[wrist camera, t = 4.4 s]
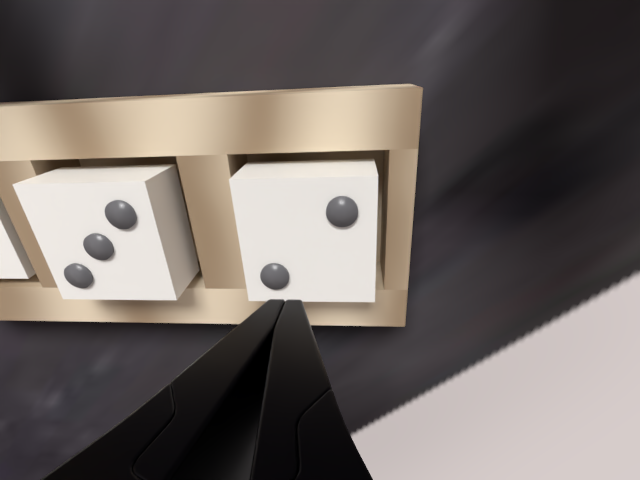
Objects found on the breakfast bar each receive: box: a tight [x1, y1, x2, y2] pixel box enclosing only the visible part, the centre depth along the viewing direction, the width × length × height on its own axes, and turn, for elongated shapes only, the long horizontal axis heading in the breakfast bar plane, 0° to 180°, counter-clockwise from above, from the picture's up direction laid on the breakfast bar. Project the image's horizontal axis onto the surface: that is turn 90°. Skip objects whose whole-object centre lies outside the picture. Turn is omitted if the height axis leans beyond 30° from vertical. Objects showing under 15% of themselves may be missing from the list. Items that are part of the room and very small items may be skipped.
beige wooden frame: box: [0, 84, 423, 327], centre depth 16 cm, size 24×10×3 cm, turn 93°
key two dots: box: [229, 159, 378, 302], centre depth 14 cm, size 5×5×2 cm
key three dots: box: [12, 164, 199, 300], centre depth 15 cm, size 5×5×2 cm
